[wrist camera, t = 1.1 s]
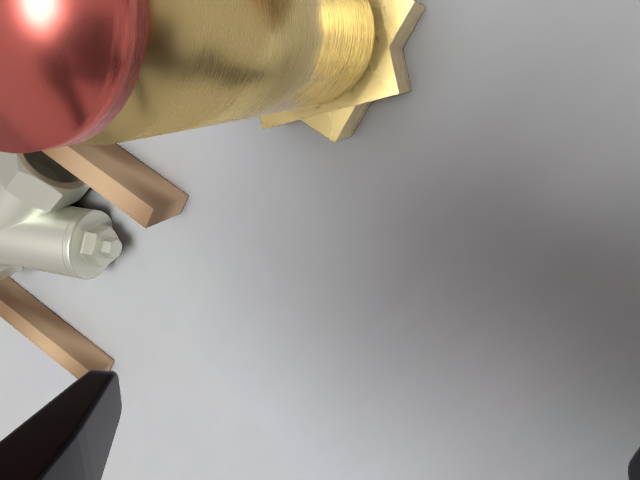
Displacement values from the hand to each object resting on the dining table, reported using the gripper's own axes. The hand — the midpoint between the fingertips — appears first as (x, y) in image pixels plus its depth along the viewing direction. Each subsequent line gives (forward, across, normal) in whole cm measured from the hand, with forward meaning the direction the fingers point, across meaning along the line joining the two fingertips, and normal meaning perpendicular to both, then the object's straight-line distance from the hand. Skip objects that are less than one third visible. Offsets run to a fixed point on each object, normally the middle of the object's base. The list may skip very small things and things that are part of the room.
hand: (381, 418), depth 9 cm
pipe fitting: (+17, +14, +9) cm, 24 cm away
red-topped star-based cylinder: (+15, +2, -3) cm, 15 cm away
